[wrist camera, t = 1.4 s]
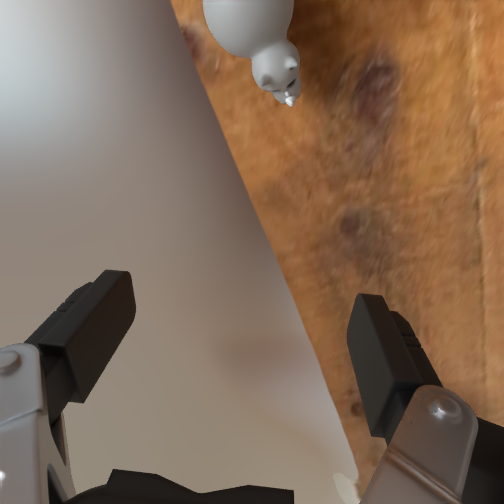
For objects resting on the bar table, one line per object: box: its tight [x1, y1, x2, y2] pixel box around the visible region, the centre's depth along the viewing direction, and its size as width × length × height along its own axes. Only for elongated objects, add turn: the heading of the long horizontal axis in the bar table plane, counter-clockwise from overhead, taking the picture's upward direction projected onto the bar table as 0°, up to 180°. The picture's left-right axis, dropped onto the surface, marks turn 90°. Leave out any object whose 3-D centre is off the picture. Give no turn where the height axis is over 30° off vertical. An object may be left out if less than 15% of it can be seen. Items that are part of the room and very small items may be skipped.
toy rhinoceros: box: [203, 0, 301, 107], centre depth 26 cm, size 7×12×8 cm, turn 27°
